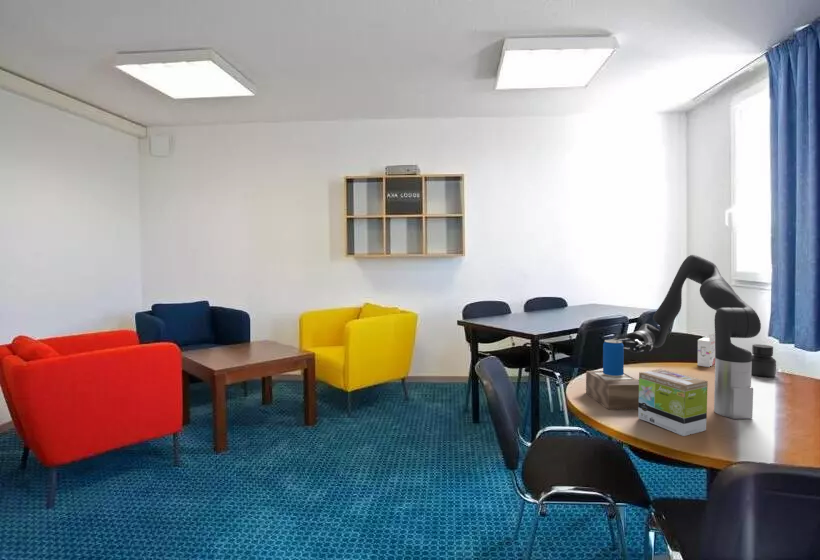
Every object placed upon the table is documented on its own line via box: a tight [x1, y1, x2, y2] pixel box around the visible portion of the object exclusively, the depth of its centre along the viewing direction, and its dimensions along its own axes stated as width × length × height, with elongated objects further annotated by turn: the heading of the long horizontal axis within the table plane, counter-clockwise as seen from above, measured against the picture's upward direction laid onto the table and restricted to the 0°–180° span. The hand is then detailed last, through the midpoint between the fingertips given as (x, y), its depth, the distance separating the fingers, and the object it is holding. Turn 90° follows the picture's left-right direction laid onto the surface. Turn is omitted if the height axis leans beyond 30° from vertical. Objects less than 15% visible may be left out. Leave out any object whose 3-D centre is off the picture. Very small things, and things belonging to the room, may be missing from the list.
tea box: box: [637, 368, 709, 437], centre depth 134 cm, size 15×10×15 cm
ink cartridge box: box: [697, 331, 716, 368], centre depth 205 cm, size 9×5×15 cm, turn 132°
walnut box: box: [585, 370, 639, 410], centre depth 157 cm, size 18×12×8 cm, turn 1°
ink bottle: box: [751, 343, 777, 378], centre depth 187 cm, size 10×9×12 cm
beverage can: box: [602, 339, 625, 377], centre depth 157 cm, size 6×6×12 cm
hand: (623, 347), depth 164 cm, fingers open, 8 cm apart
